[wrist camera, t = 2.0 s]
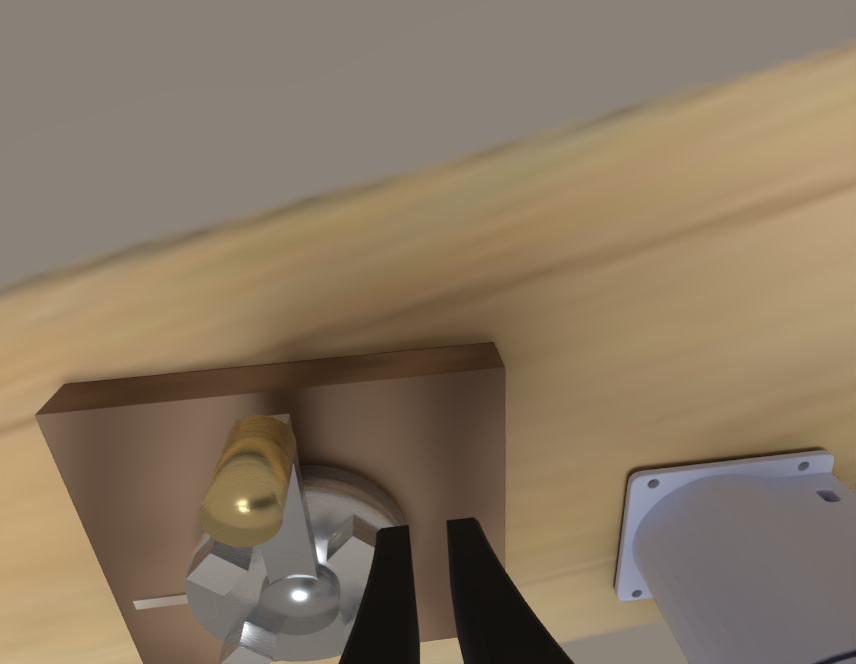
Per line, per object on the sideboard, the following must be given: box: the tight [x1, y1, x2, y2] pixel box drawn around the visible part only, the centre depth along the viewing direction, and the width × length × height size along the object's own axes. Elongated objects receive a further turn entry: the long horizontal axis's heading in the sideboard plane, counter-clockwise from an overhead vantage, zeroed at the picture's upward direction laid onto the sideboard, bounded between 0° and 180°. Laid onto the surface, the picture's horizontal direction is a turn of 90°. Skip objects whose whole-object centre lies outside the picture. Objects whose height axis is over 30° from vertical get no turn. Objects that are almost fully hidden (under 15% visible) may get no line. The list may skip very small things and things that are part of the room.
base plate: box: [35, 342, 505, 664], centre depth 23 cm, size 16×14×2 cm
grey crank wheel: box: [185, 414, 406, 664], centre depth 19 cm, size 12×8×6 cm, turn 4°
